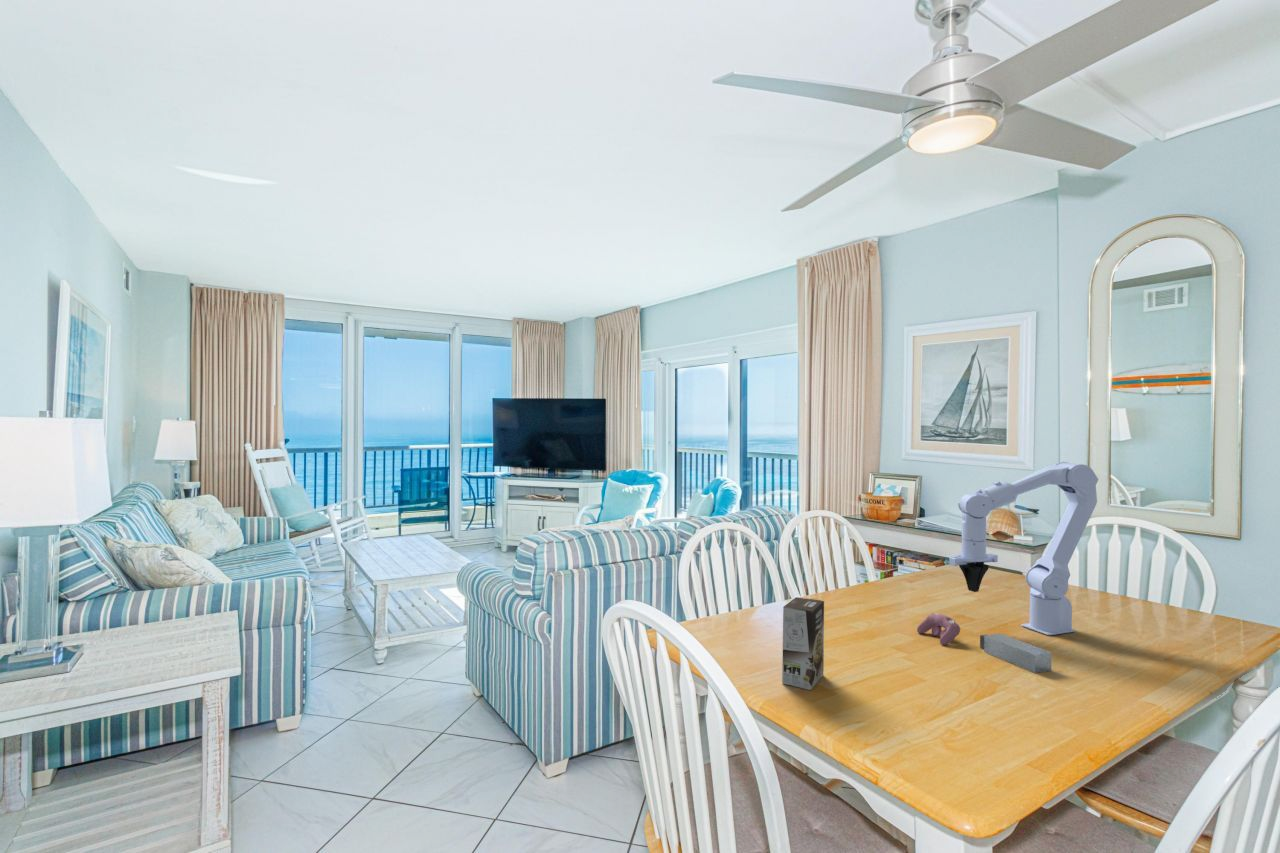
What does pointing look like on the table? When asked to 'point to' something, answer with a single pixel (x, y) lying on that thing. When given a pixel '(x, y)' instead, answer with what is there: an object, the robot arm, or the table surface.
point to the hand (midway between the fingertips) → (973, 590)
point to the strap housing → (1017, 652)
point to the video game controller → (936, 623)
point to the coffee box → (803, 643)
